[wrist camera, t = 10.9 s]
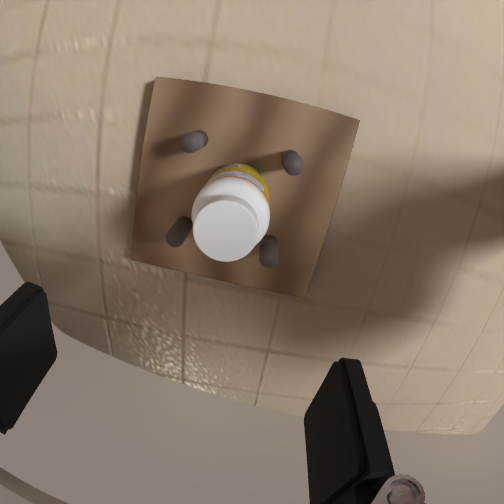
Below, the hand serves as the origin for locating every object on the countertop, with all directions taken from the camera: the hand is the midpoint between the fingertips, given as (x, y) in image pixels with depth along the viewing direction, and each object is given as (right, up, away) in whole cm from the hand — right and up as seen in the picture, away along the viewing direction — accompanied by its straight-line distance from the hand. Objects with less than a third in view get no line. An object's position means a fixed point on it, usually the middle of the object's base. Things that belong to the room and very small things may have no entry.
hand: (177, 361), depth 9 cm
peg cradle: (+1, +9, +20) cm, 22 cm away
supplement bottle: (+1, +9, +19) cm, 21 cm away
